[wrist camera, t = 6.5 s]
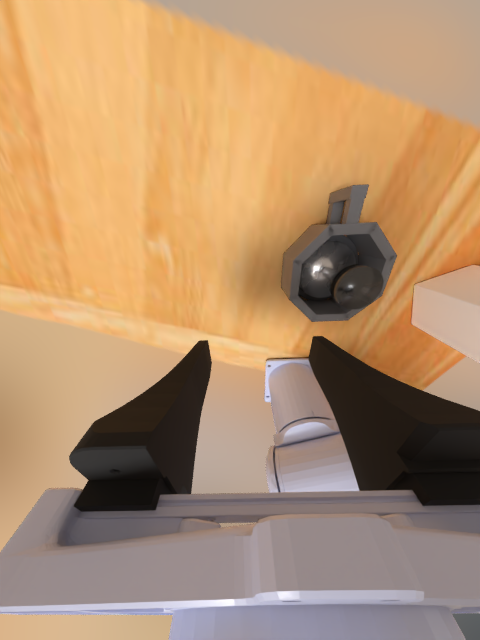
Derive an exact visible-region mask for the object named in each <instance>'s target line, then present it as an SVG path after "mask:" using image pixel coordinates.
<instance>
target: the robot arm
mask: <svg viewBox="0 0 480 640" xmlns="http://www.w3.org/2000/svg"><path fill="white" fill-rule="evenodd" d="M211 364H212V362H211V356H210V350H209V344H208V340H207V341H198V343H197V344H196V345H195V346H194V347H193V348H192V349H191V350H190V352H189V353H188V354H187V355H186V356H185V357H184V358H183V359H182V360H181V361H180V363H178V364H177V365H176V367H174V368H173V369H172V370H171V371H170V372H169V373H168V374H167V375H166V376H165V377H163V378H162V379H161V380H160V381H159V382H157V383H156V384H155V385H153V386H152V387H151V388H149V389H148V390H146V391H145V392H144V393H143V394H141V395H139V396H138V397H136V398H135V399H133V400H131V401H130V402H128V403H127V404H125V405H123V406H122V407H120V408H118V409H116V410H115V411H113V412H111V413H109V414H108V415H106V416H104V417H102V418H100V419H98V420H96V421H95V422H94V423H93V424H92V425H91V427H90V428H89V430H88V431H87V432H86V434H85V435H84V436H83V438H82V439H81V440H80V442H79V443H78V445H77V446H76V447H75V448H74V450H73V451H72V452H71V454H70V456H69V459H70V463H71V464H72V466H73V467H74V468H75V469H76V470H78V471H79V472H80V473H81V474H82V475H83V476H85V477H86V478H87V479H88V480H89V481H88V482H87V484H86V486H85V487H84V489H83V490H82V489H78V488H49V489H47V490H45V492H44V493H43V494H42V496H41V497H40V499H39V500H38V501H37V503H36V504H35V505H34V507H33V508H32V510H31V511H30V512H29V514H28V515H27V516H26V518H25V519H24V521H23V522H22V524H21V525H20V526H19V527H18V529H17V530H16V531H15V533H14V534H13V536H12V537H11V538H10V540H9V541H8V542H7V544H6V545H5V547H4V548H3V549H2V551H1V552H0V614H19V615H22V614H23V615H27V614H28V615H29V614H83V615H84V614H85V615H86V614H88V615H91V614H93V615H97V614H98V615H99V614H100V615H173V617H172V623H171V629H170V635H169V640H466V639H465V637H464V635H463V634H462V632H461V630H460V628H459V626H458V625H457V623H456V621H455V619H454V617H453V616H452V613H480V411H478V410H475V409H472V408H469V407H466V406H463V405H460V404H457V403H454V402H451V401H448V400H445V399H442V398H440V397H437V396H435V395H432V394H429V393H427V392H424V391H422V390H419V389H417V388H414V387H412V386H409V385H407V384H405V383H403V382H400V381H398V380H396V379H394V378H392V377H390V376H387V375H385V374H384V373H382V372H380V371H378V370H376V369H374V368H372V367H370V366H368V365H367V364H365V363H363V362H362V361H360V360H358V359H357V358H355V357H353V356H352V355H350V354H349V353H347V352H346V351H344V350H342V349H341V348H339V347H338V346H337V345H335V344H334V343H332V342H331V341H329V340H328V339H326V338H324V337H323V336H314V337H313V339H312V344H311V349H310V354H309V358H301V359H271V360H267V361H266V371H265V401H266V402H271V406H272V412H273V418H274V423H275V429H276V434H275V435H274V442H275V445H274V446H271V447H270V448H269V451H268V454H267V457H266V474H267V482H268V488H269V493H227V494H226V493H225V494H224V493H223V494H191V488H192V479H193V470H194V461H195V453H196V445H197V437H198V430H199V423H200V417H201V411H202V406H203V402H204V398H205V394H206V390H207V386H208V382H209V378H210V372H211ZM268 365H269V366H268ZM246 522H257V523H255V524H247V525H239V526H230V527H222V528H220V527H221V526H220V524H219V523H246Z"/></svg>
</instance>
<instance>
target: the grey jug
mask: <svg viewBox="0 0 480 640" xmlns="http://www.w3.org/2000/svg"><path fill="white" fill-rule="evenodd" d="M368 186H369V185H352V186H350V187H347V188H344V189H341V190H338V191H336V192H333V193H330V198H329V204H330V206H329V211H328V217H327V223H326V224H319V225H311V226H310V227H309V228H308V229H307V230H306V231H305V232H304V233H303V234H302V235H301V236H300V237H299V238H298V239H297V240H296V241H295V242H294V243H293V244H292V245H291V246H290V247H289V248H288V250H287V251H286V252H285V253H284V254H283V265H282V279H281V288H282V289H283V291H284V292H285V294H286V295H287V297H288V298H289V300H290V301H291V302H292V303H293V304H294V305H295V306H296V307H297V308H298V309H300V310H301V311H302V312H303V313H304V314H305V315H306V316H307V317H308V318H309V319H310V320H311V321H312V322H316V321H343V320H349V319H350V318H351V317H353V316H354V315H356V314H357V313H358V312H360V311H361V310H363V309H364V308H365V307H367V306H368V305H367V306H365V307H363V308H360V309H347V308H344V307H343V306H341V305H340V304H339V303H338V302H336V301H335V300H334V299H333V298H332V296H329V297H324V298H316V297H312V296H310V295H308V294H306V293H305V292H304V291H303V290H302V289H301V288H300V286H299V283H300V275H301V267H302V263H303V262H304V261H305V260H306V259H308V258H309V257H310V256H311V255H312V254H313V253H314V252H315V251H316V250H317V249H318V248H319V247H320V246H321V245H322V244H323V243H324V242H325V241H338V242H342V243H344V244H346V245H347V246H349V247H350V248H351V250H352V251H353V253H354V255H355V261H356V264H362V265H365V266H369V267H372V268H375V269H377V270H378V271H380V273H381V274H382V276H383V280H384V283H383V288H382V290H381V292H380V294H379V295H378V297H377V298H376V299H375V300H377V299H378V298H379V297H381V296H382V294H383V291H384V289H385V286H386V283H387V281H388V278H389V275H390V273H391V270H392V267H393V265H394V262H395V260H396V257H397V255H396V253H395V251H394V250H393V248H392V247H391V245H390V243H389V242H388V240H387V238H386V237H385V235H384V233H383V232H382V230H381V229H380V227H379V225H378V224H377V222H367V223H358V222H359V218H360V214H361V210H362V207H363V203H364V199H365V198H366V194H367V190H368ZM344 202H346V204H345V209H344V214H343V218H342V223H340V221H341V216H342V212H343V207H344ZM344 235H346V236H347V237H346V236H344ZM358 253H359V254H358ZM300 296H301V297H303V298H305V299H307V300H303V299H302V298H301V297H300ZM375 300H374V301H375ZM374 301H373V302H374ZM370 304H371V303H370ZM370 304H369V305H370Z"/></svg>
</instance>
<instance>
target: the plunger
mask: <svg viewBox="0 0 480 640" xmlns="http://www.w3.org/2000/svg"><path fill="white" fill-rule="evenodd" d="M383 283H384V280H383V276H382V274H381V273H380V271H378V270H377V269H375V268H372V267H369V266H365V265H362V264H356V261H355V255H354V253H353V251H352V250H351V248H350V247H349V246H347V245H346V244H344V243H342V242H338V241H325V242H324V243H323V244H322V245H321V246H320V247H319V248H318V249H317V250H316V251H315V252H314V253H313V254H312V255H311V256H310V257H309V258H308V259H306V260H305V261H304V262H303V263H302V267H301V275H300V283H299V286H300V288H301V289H302V290H303V291H304V292H305V293H306V294H308V295H310V296H312V297H316V298H324V297H329V296H332V298H333V299H334V300H335V301H336V302H338V303H339V304H340V305H341V306H343V307H344V308H347V309H360V308H363V307H365V306H367V305H369V304H370V303H372V302H373V301H374V300H375V299H376V298H377V297H378V295H379V294H380V292H381V290H382V288H383Z"/></svg>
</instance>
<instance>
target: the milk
mask: <svg viewBox="0 0 480 640" xmlns="http://www.w3.org/2000/svg"><path fill="white" fill-rule="evenodd" d="M411 324H412V325H414V326H416V327H417V328H419V329H421V330H422V331H424V332H426V333H428V334H429V335H431V336H433V337H435V338H436V339H438V340H440V341H442V342H443V343H445V344H447V345H449V346H450V347H452V348H454V349H455V350H457V351H459V352H461V353H462V354H464V355H466V356H468V357H470V358H471V359H473V360H475V361H476V362H478V363H480V266H477V265H470V266H467V267H464V268H461V269H458V270H455V271H452V272H449V273H446V274H444V275H441V276H438V277H435V278H432V279H429V280H426V281H423V282H420V283H417V284H415V285H414V294H413V306H412V319H411Z"/></svg>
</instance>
